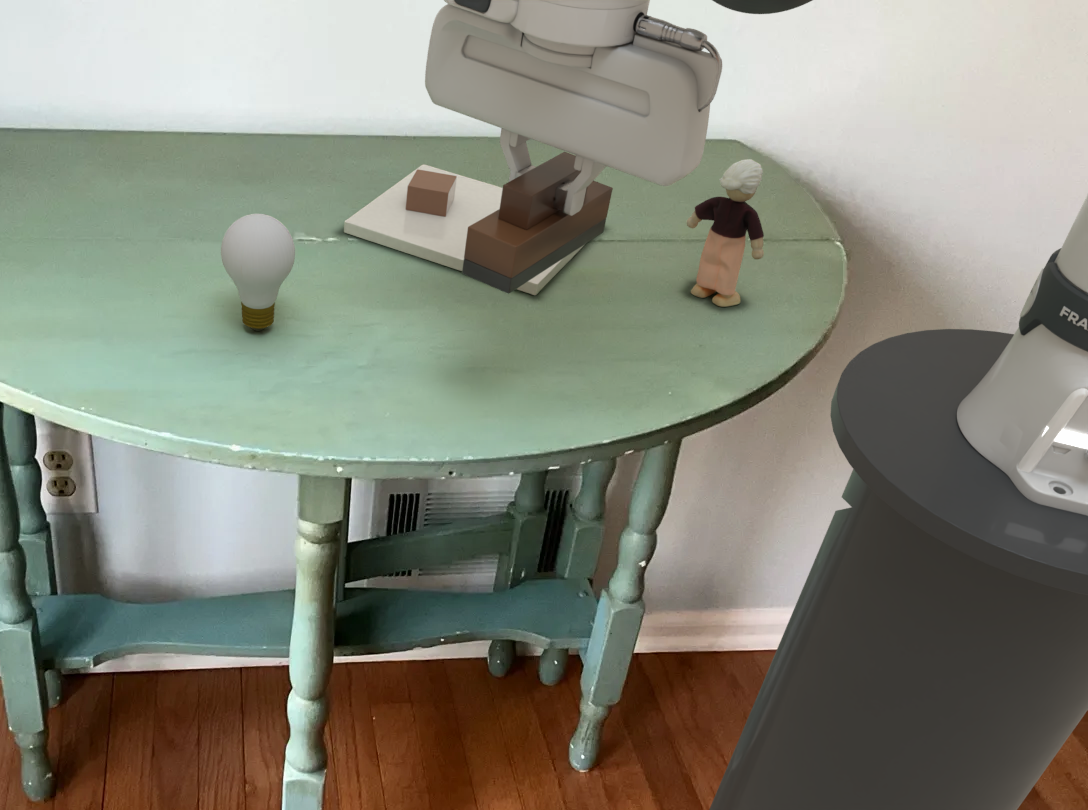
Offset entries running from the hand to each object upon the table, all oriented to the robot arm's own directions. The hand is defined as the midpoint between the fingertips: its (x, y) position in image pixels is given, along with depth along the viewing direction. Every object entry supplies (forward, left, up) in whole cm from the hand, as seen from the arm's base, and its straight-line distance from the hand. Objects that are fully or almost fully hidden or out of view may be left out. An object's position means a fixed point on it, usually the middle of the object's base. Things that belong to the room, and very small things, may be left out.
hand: (543, 201), depth 84 cm
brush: (0, 0, -4) cm, 4 cm away
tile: (+15, -23, -16) cm, 31 cm away
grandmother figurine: (-8, -25, -16) cm, 31 cm away
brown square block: (+20, -23, -15) cm, 34 cm away
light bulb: (+22, +4, -16) cm, 27 cm away
